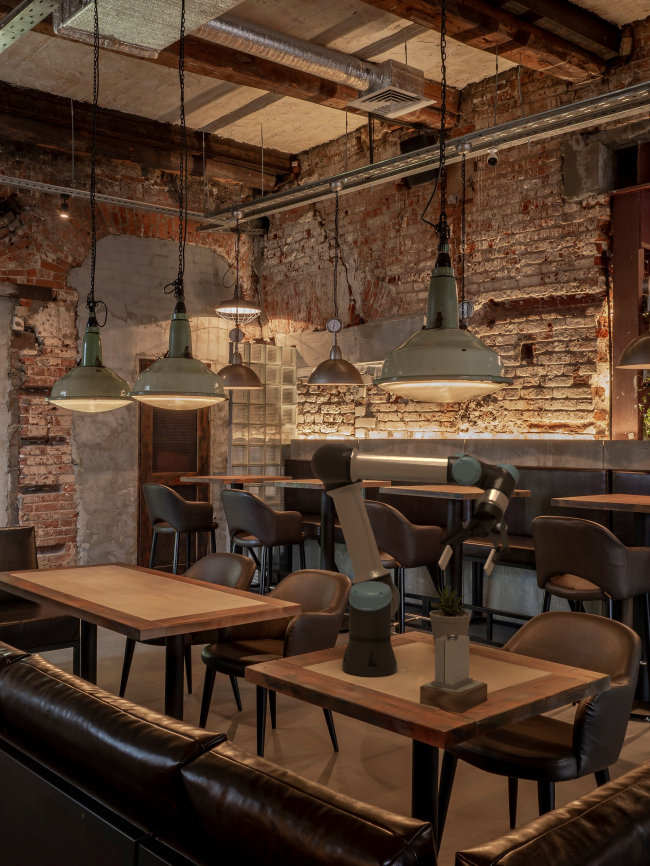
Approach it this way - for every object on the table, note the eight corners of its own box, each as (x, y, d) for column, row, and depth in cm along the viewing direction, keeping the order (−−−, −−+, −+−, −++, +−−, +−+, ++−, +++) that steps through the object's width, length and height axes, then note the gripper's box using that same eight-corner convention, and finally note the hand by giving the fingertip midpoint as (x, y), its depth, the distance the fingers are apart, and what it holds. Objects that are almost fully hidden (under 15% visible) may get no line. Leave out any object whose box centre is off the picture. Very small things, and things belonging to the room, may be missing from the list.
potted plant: (481, 651, 244) (481, 585, 244) (454, 659, 234) (454, 590, 235) (447, 644, 253) (448, 580, 253) (420, 651, 243) (421, 585, 244)
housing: (431, 685, 191) (431, 635, 191) (449, 677, 198) (449, 629, 199) (455, 690, 187) (455, 639, 187) (472, 681, 194) (473, 633, 195)
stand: (420, 703, 191) (420, 684, 191) (447, 691, 201) (447, 673, 201) (460, 713, 184) (460, 693, 184) (487, 700, 194) (487, 682, 194)
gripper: (536, 521, 216) (511, 583, 204) (456, 516, 232) (428, 573, 220) (528, 502, 212) (502, 564, 200) (446, 498, 228) (417, 555, 216)
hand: (463, 569), depth 210 cm, fingers open, 13 cm apart
